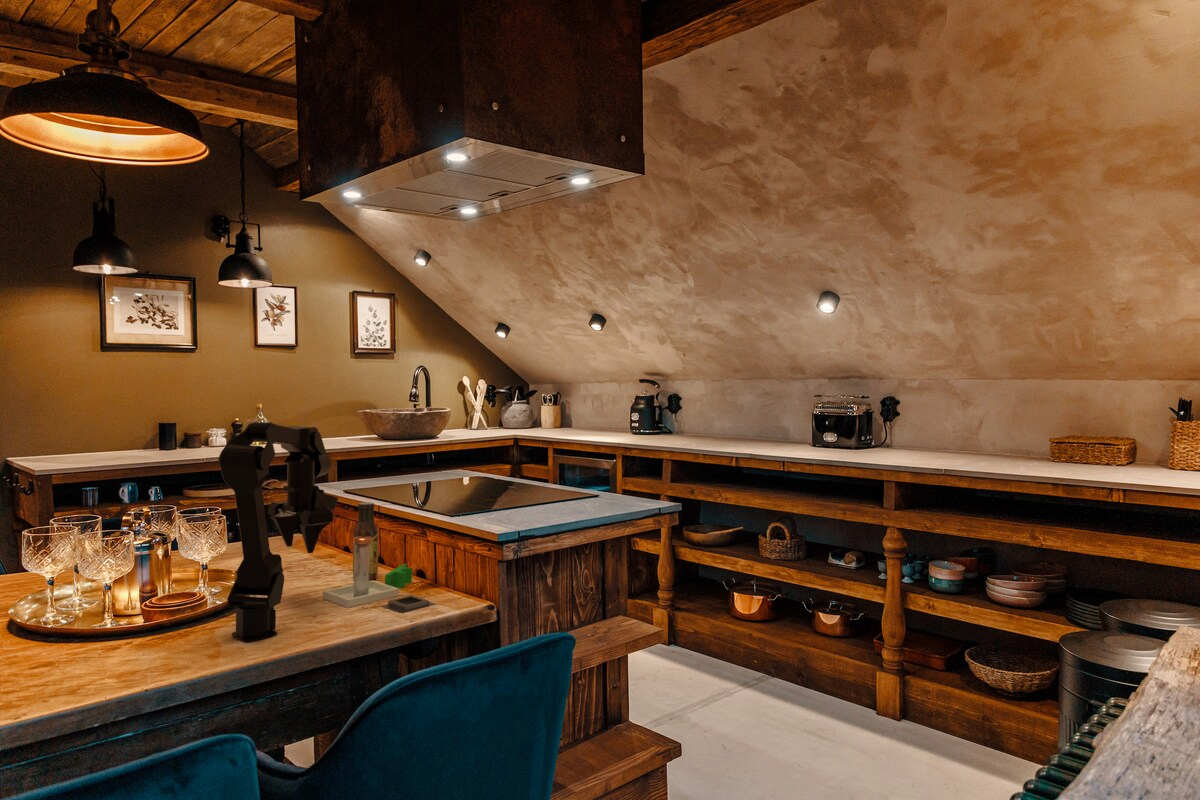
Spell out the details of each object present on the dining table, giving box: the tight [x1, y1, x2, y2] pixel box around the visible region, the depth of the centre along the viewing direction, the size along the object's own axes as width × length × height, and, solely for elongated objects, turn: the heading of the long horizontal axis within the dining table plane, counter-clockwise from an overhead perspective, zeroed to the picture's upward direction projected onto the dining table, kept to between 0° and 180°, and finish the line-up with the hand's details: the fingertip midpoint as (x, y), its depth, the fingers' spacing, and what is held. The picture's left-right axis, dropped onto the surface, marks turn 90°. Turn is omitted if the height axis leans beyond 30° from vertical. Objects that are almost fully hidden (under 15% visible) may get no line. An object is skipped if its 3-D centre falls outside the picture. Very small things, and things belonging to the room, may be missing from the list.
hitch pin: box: [352, 536, 372, 598], centre depth 177 cm, size 4×4×14 cm
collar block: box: [379, 594, 437, 614], centre depth 172 cm, size 10×8×1 cm
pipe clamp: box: [384, 563, 413, 589], centre depth 189 cm, size 11×4×5 cm, turn 173°
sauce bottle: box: [352, 501, 379, 581], centre depth 195 cm, size 6×6×20 cm
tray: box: [322, 579, 400, 609], centre depth 177 cm, size 14×11×2 cm
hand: (299, 549), depth 170 cm, fingers open, 9 cm apart
